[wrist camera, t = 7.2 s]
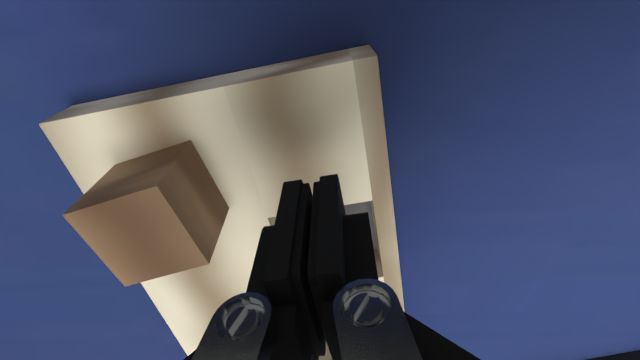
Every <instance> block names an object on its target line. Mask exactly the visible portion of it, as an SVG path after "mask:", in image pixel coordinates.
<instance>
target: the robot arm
mask: <svg viewBox="0 0 640 360" xmlns="http://www.w3.org/2000/svg"><path fill="white" fill-rule="evenodd" d="M326 342H327V345H328V348H329V352H330V354H331V357H332V360H480V359H479V358H477V357H475V356H474V355H472V354H471V353H469V352H467V351H466V350H464V349H462V348H461V347H459V346H458V345H456V344H454V343H453V342H451V341H450V340H448V339H446V338H445V337H443V336H442V335H440V334H438V333H437V332H435V331H434V330H432V329H430V328H429V327H427V326H426V325H424V324H422V323H421V322H419V321H418V320H416V319H414V318H413V317H411V316H410V315H408V314H406V313H405V312H404V311H403V309H402V306H401V304H400V301H399V299H398V296H397V295H396V293H395V292H394V290H393V289H392V288H391V287H390V286H389V285H387V284H386V283H384V282H382V281H379V280H378V273H377V267H376V260H375V254H374V247H373V241H372V234H371V228H370V221H369V215H368V212H365V213H358V214H350V215H346V213H345V208H344V203H343V198H342V192H341V187H340V182H339V177H338V174H333V175H326V176H320V180H319V181H318V182H314V184H313V196H312V191H311V187H310V184H309V183H305V184H303V181H302V180H301V179H300V180H294V181H287V182H284V183H283V187H282V191H281V196H280V201H279V205H278V210H277V215H276V220H275V224H274V225H271V226H264V227H263V229H262V231H261V235H260V239H259V243H258V247H257V251H256V255H255V259H254V262H253V266H252V270H251V274H250V278H249V282H248V286H247V290H246V293H241V294H238V295H235V296H233V297H231V298H230V299H228V300H227V301H225V302H224V303H223V304H222V305H221V306H220V307H219V308H218V309H217V310H216V312H215V313H214V315H213V316H212V318H211V320H210V322H209V324H208V326H207V328H206V330H205V332H204V334H203V337H202V339H201V341H200V343H199V345H198V347H197V349H196V350H195V351H194V352H192V353H191V354H190V355H189V356H187V357H186V358H185V359H184V360H319V356H325V353H326Z"/></svg>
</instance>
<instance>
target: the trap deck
mask: <svg viewBox="0 0 640 360" xmlns="http://www.w3.org/2000/svg"><path fill="white" fill-rule="evenodd" d="M39 125H40V127H41V128H42V130H43V131H44V133H45V134H46V136H47V138H48V139H49V141H50V142H51V144H52V145H53V147H54V148H55V150H56V152H57V153H58V155H59V156H60V158H61V159H62V161H63V162H64V164H65V166H66V167H67V169H68V170H69V172H70V173H71V175H72V176H73V178H74V180H75V181H76V183H77V184H78V186H79V187H80V189H81V190H82V192H83V194H85V193H86V192H87V191H88V190H89V189H90V188H91V187H92V186H93V185H94V184H95V183H96V182H97V181H98V180H99V179H100V178H102V177H103V176H104V175H105V174H106V173H107V172H108V171H109V170H110V169H111V168H112V167H113V166H114V165H115V164H118V163H121V162H124V161H127V160H131V159H134V158H137V157H140V156H143V155H146V154H149V153H152V152H155V151H158V150H161V149H164V148H167V147H170V146H173V145H176V144H179V143H182V142H185V141H189V140H191V141H192V143H193V145H194V146H195V148H196V150H197V152H198V153H199V155H200V157H201V159H202V161H203V162H204V164H205V166H206V168H207V169H208V171H209V173H210V175H211V176H212V178H213V180H214V182H215V184H216V185H217V187H218V189H219V191H220V192H221V194H222V196H223V198H224V199H225V201H226V203H227V205H228V206H229V210H228V213H227V216H226V219H225V222H224V224H223V227H222V230H221V233H220V235H219V238H218V241H217V244H216V246H215V249H214V252H213V255H212V258H211V260H210V263H209V264H208V265H204V266H200V267H196V268H193V269H189V270H185V271H181V272H178V273H174V274H170V275H166V276H163V277H159V278H155V279H151V280H148V281H144V282H141V284H142V285H143V287H144V288H145V290H146V292H147V293H148V295H149V296H150V298H151V299H152V301H153V302H154V304H155V306H156V307H157V309H158V310H159V312H160V313H161V315H162V316H163V318H164V320H165V321H166V323H167V324H168V326H169V327H170V329H171V330H172V332H173V334H174V335H175V337H176V338H177V340H178V341H179V343H180V344H181V346H182V348H183V349H184V351H185V352H186V354H187V355H188V356H189V355H190V354H191V353H192V352H194V351H195V350H196V349H197V347H198V345H199V343H200V341H201V339H202V337H203V334H204V332H205V330H206V328H207V326H208V324H209V322H210V320H211V318H212V316H213V315H214V313H215V312H216V310H217V309H218V308H219V307H220V306H221V305H222V304H223V303H224V302H225V301H227V300H228V299H230V298H231V297H233V296H235V295H238V294H241V293H246V290H247V286H248V282H249V278H250V274H251V270H252V266H253V262H254V259H255V255H256V251H257V247H258V243H259V239H260V235H261V231H262V229H263V227H264V226H271V225H274V224H275V220H276V215H277V210H278V205H279V201H280V196H281V191H282V187H283V183H284V182H287V181H294V180H300V179H301V180H302V181H303V184H305V183H309V184H310V187H311V191H312V196H313V184H314V182H318V181H319V180H320V176H326V175H333V174H338V177H339V182H340V187H341V192H342V198H343V203H344V208H345V213H346V215H350V214H358V213H365V212H368V215H369V221H370V228H371V234H372V241H373V247H374V254H375V260H376V267H377V273H378V280H379V281H382V282H384V283H386V284H387V285H389V286H390V287H391V288H392V289H393V290H394V292H395V293H396V295H397V296H398V299H399V301H400V304H401V306H402V309H403V311H404V301H403V292H402V283H401V273H400V264H399V254H398V245H397V236H396V226H395V217H394V207H393V198H392V189H391V179H390V170H389V160H388V151H387V142H386V132H385V123H384V113H383V104H382V95H381V85H380V76H379V66H378V57H377V54H376V53H375V52H374V50H373V49H372V48H371V46H370V45H364V46H359V47H354V48H349V49H345V50H340V51H335V52H330V53H325V54H320V55H315V56H310V57H306V58H301V59H296V60H291V61H286V62H281V63H276V64H272V65H267V66H262V67H257V68H252V69H247V70H242V71H237V72H233V73H228V74H223V75H218V76H213V77H208V78H203V79H199V80H194V81H189V82H184V83H179V84H174V85H169V86H164V87H160V88H155V89H150V90H145V91H140V92H135V93H130V94H125V95H121V96H116V97H111V98H106V99H101V100H96V101H91V102H87V103H82V104H77V105H72V106H70V107H69V108H67V109H65V110H63V111H61V112H59V113H58V114H56V115H54V116H52V117H50V118H49V119H47V120H45V121H43V122H41V123H40V124H39ZM404 312H405V311H404ZM319 360H332V357H331V354H330V352H329V348H328V345H327V342H326V353H325V356H319Z"/></svg>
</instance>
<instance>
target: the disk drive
mask: <svg viewBox="0 0 640 360" xmlns="http://www.w3.org/2000/svg"><path fill="white" fill-rule="evenodd" d="M588 360H640V350H639V351H633V352H627V353H622V354H616V355H611V356H605V357H599V358H594V359H588Z"/></svg>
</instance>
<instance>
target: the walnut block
mask: <svg viewBox="0 0 640 360" xmlns="http://www.w3.org/2000/svg"><path fill="white" fill-rule="evenodd" d="M228 210H229V206H228V205H227V203H226V201H225V199H224V198H223V196H222V194H221V192H220V191H219V189H218V187H217V185H216V184H215V182H214V180H213V178H212V176H211V175H210V173H209V171H208V169H207V168H206V166H205V164H204V162H203V161H202V159H201V157H200V155H199V153H198V152H197V150H196V148H195V146H194V145H193V143H192V141H191V140H189V141H185V142H182V143H179V144H176V145H173V146H170V147H167V148H164V149H161V150H158V151H155V152H152V153H149V154H146V155H143V156H140V157H137V158H134V159H131V160H127V161H124V162H121V163H118V164H115V165H114V166H113V167H112V168H111V169H110V170H109V171H108V172H107V173H106V174H105V175H104V176H103V177H102V178H100V179H99V180H98V181H97V182H96V183H95V184H94V185H93V186H92V187H91V188H90V189H89V190H88V191H87V192H86V193H85V194H84V195H83V196H82V197H81V198H80V199H79V200H78V201H77V202H76V203H75V204H74V205H72V206H71V207H70V208H69V209H68V210H67V211H66V212H65V213H64V214H63V216H64V217H65V219H66V220H67V221H68V222H69V223H70V224H71V225H72V227H73V228H74V229H75V230H76V231H77V232H78V233H79V235H80V236H81V237H82V238H83V239H84V240H85V241H86V243H87V244H88V245H89V246H90V247H91V248H92V249H93V251H94V252H95V253H96V254H97V255H98V256H99V257H100V259H101V260H102V261H103V262H104V263H105V264H106V265H107V267H108V268H109V269H110V270H111V271H112V272H113V273H114V275H115V276H116V277H117V278H118V279H119V280H120V281H121V283H122V284H123V285H124V286H129V285H133V284H136V283H140V282H144V281H148V280H151V279H155V278H159V277H163V276H166V275H170V274H174V273H178V272H181V271H185V270H189V269H193V268H196V267H200V266H204V265H208V264H209V263H210V260H211V258H212V255H213V252H214V249H215V246H216V244H217V241H218V238H219V235H220V233H221V230H222V227H223V224H224V222H225V219H226V216H227V213H228Z"/></svg>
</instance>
